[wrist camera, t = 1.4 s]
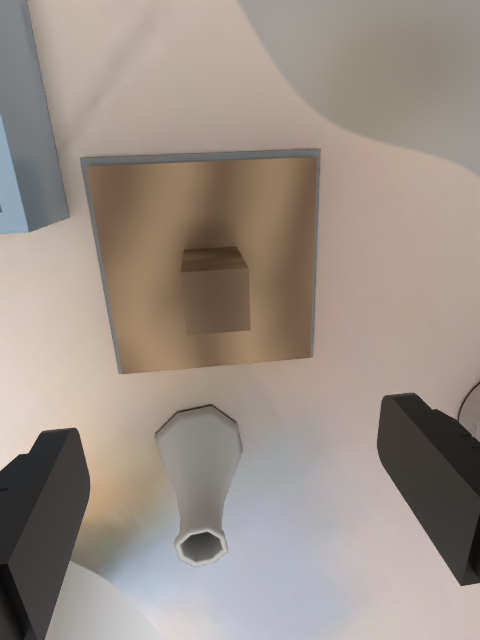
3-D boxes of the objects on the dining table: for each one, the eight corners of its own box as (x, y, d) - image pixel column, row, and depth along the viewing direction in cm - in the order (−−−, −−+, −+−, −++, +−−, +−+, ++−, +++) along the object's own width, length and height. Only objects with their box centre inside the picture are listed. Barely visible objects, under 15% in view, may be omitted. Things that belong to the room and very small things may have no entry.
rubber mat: (317, 149, 25) (320, 148, 24) (310, 353, 30) (313, 357, 30) (82, 158, 24) (80, 158, 23) (120, 370, 29) (118, 373, 29)
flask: (139, 430, 31) (116, 539, 22) (215, 390, 31) (225, 485, 22) (184, 486, 34) (181, 603, 25) (255, 450, 34) (279, 557, 24)
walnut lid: (312, 157, 25) (354, 152, 18) (306, 351, 30) (338, 402, 23) (90, 166, 23) (49, 164, 17) (124, 367, 28) (103, 425, 22)
